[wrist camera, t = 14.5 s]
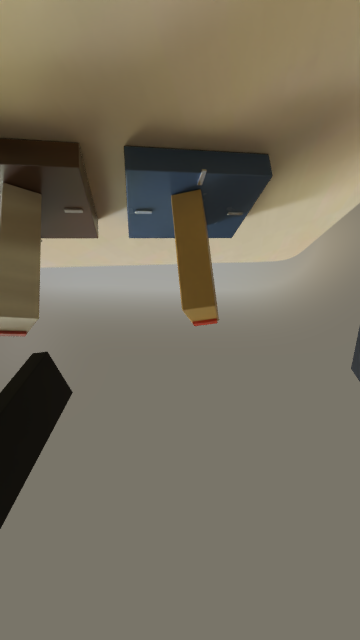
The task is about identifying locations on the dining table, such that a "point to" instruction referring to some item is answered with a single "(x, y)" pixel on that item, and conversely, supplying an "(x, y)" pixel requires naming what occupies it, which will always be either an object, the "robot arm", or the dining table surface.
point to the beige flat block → (19, 259)
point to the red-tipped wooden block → (194, 258)
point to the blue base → (191, 187)
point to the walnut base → (52, 184)
